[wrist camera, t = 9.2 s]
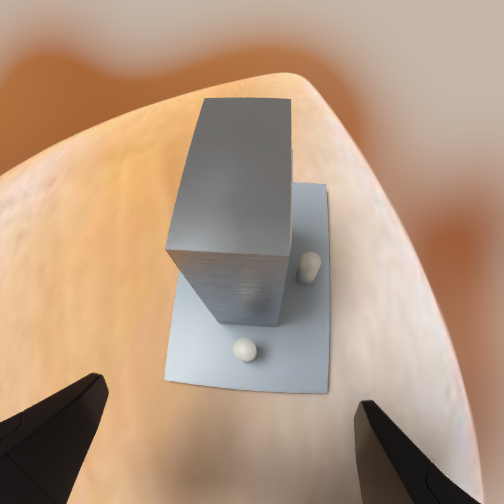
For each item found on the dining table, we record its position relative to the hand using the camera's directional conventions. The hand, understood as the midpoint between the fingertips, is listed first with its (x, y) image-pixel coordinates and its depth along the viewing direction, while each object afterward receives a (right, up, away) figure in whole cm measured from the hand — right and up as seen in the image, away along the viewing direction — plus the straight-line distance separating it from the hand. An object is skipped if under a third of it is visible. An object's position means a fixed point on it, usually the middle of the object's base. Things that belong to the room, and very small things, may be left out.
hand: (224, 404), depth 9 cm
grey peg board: (+1, +3, +12) cm, 12 cm away
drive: (+1, +4, +11) cm, 12 cm away
